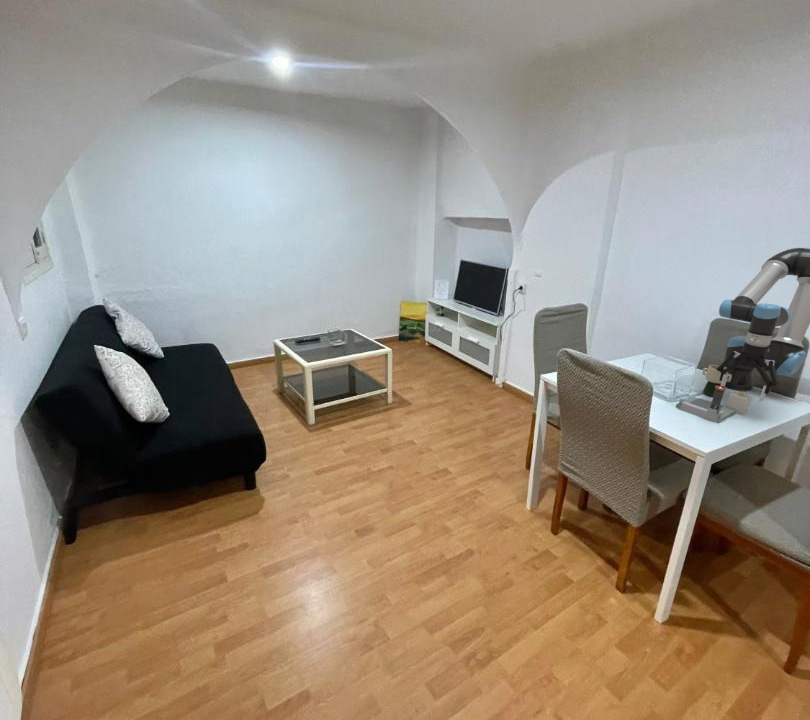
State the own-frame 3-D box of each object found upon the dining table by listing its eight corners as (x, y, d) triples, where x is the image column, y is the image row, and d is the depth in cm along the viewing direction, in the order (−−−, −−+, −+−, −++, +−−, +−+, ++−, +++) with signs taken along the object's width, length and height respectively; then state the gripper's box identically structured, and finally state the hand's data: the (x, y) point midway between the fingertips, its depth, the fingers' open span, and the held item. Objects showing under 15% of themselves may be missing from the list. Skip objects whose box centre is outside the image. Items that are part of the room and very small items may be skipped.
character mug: (728, 397, 188) (736, 369, 184) (721, 401, 184) (730, 372, 180) (700, 388, 196) (708, 362, 192) (694, 392, 193) (701, 365, 188)
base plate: (692, 399, 185) (694, 390, 184) (734, 414, 173) (737, 404, 171) (675, 407, 177) (677, 397, 176) (718, 423, 165) (721, 413, 163)
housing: (731, 406, 179) (736, 387, 176) (747, 412, 175) (754, 392, 172) (724, 409, 176) (730, 390, 173) (741, 415, 172) (747, 396, 169)
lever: (710, 409, 169) (717, 384, 165) (719, 412, 166) (727, 387, 163) (706, 411, 167) (714, 386, 164) (716, 414, 165) (723, 389, 161)
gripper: (716, 337, 173) (702, 385, 180) (794, 354, 154) (775, 408, 161) (724, 334, 177) (710, 382, 184) (801, 351, 158) (782, 403, 165)
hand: (740, 394), depth 173 cm, fingers open, 13 cm apart
